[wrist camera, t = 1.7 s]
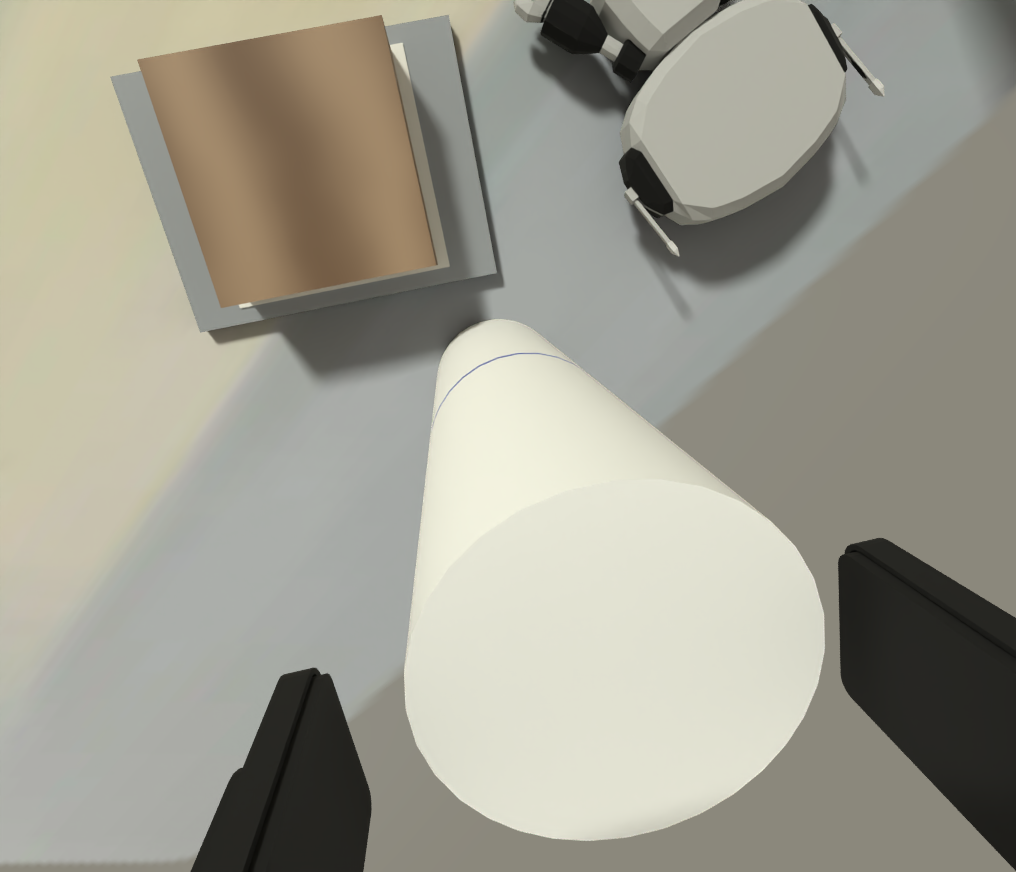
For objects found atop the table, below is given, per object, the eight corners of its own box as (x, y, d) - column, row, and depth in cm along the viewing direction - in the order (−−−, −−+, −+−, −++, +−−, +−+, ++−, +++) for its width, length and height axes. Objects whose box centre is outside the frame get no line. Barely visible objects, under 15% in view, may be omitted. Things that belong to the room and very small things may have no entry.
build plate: (448, 21, 28) (448, 14, 27) (495, 272, 32) (497, 273, 31) (119, 81, 27) (108, 76, 26) (206, 330, 31) (199, 332, 30)
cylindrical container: (581, 354, 33) (908, 586, 10) (523, 458, 35) (680, 881, 11) (472, 296, 32) (538, 398, 8) (416, 407, 33) (331, 771, 10)
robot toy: (493, 27, 29) (658, 270, 32) (495, -21, 25) (686, 265, 28) (691, -145, 28) (842, 125, 31) (731, -229, 23) (902, 97, 27)
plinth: (391, 49, 27) (381, 15, 23) (438, 264, 30) (436, 265, 26) (181, 88, 27) (137, 59, 23) (250, 302, 30) (221, 308, 26)
